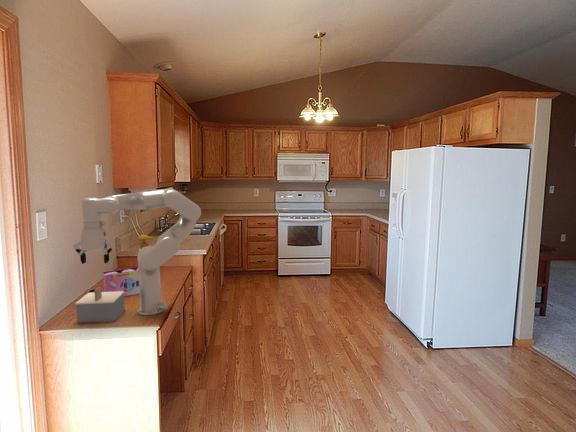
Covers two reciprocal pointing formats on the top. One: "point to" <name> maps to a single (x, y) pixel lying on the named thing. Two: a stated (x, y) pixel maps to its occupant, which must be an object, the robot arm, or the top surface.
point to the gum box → (122, 281)
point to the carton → (100, 311)
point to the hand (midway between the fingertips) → (95, 262)
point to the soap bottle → (144, 241)
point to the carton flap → (100, 297)
